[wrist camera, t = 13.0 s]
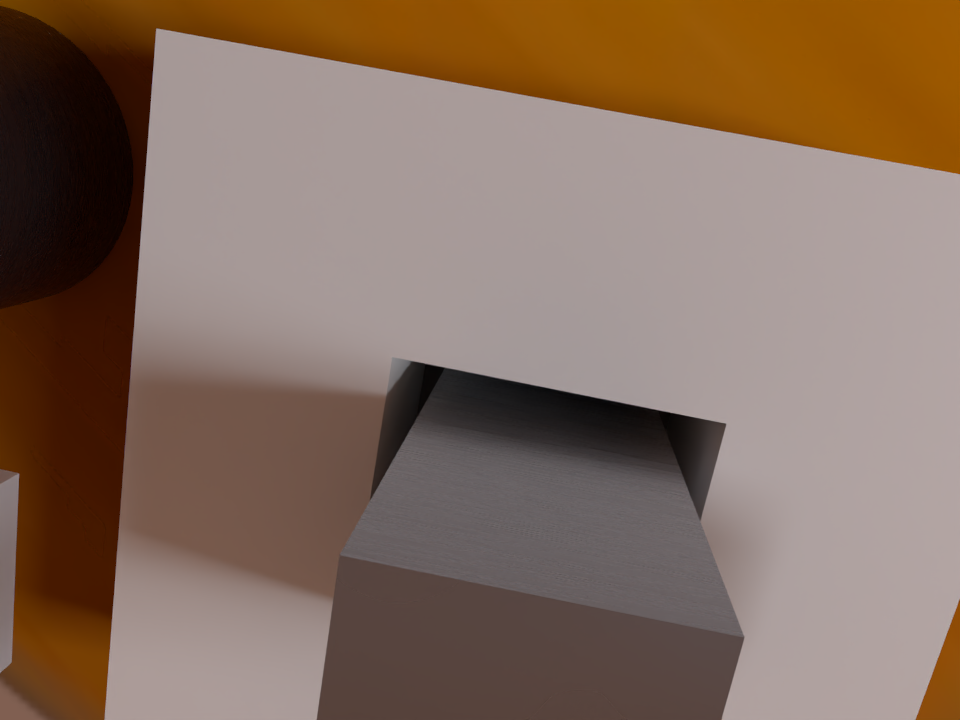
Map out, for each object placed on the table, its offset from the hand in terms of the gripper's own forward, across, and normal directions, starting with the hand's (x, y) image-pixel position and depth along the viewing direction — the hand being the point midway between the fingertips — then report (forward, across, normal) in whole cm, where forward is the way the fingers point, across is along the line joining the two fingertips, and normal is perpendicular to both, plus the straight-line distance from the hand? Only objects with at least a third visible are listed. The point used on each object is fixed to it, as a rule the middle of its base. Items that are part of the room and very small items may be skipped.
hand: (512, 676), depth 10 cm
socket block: (+9, 0, 0) cm, 9 cm away
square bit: (+8, 0, 0) cm, 8 cm away
